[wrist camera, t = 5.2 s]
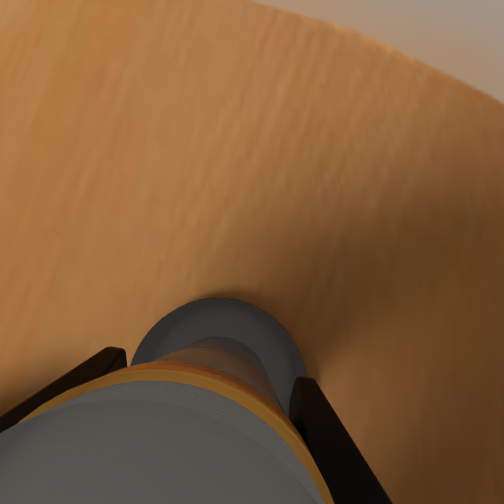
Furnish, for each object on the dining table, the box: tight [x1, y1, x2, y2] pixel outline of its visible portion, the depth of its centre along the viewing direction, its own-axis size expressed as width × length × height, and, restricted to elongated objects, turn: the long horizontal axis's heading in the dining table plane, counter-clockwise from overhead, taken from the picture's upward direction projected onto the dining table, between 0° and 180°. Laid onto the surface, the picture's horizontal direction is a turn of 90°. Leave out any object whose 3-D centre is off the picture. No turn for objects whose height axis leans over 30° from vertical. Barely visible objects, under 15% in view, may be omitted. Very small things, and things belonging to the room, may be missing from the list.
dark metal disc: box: [131, 298, 306, 417], centre depth 15 cm, size 7×7×1 cm
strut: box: [0, 336, 334, 504], centre depth 9 cm, size 4×4×12 cm
